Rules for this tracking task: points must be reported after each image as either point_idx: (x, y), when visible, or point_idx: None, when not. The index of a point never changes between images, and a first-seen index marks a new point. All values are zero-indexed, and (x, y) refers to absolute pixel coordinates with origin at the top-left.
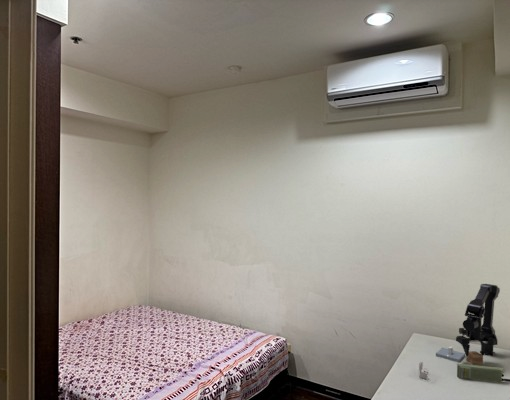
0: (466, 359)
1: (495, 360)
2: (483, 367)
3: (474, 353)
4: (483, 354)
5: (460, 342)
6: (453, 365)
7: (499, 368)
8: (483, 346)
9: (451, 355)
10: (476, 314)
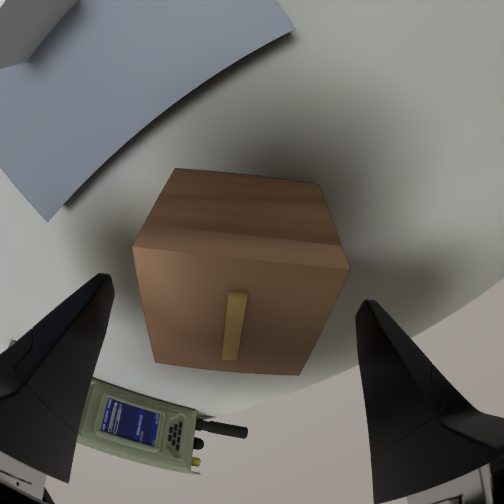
0: (170, 182)
1: (495, 237)
2: (100, 450)
3: (224, 333)
4: (361, 339)
5: None
6: (7, 247)
7: (179, 471)
8: (398, 438)
9: (16, 96)
10: None
